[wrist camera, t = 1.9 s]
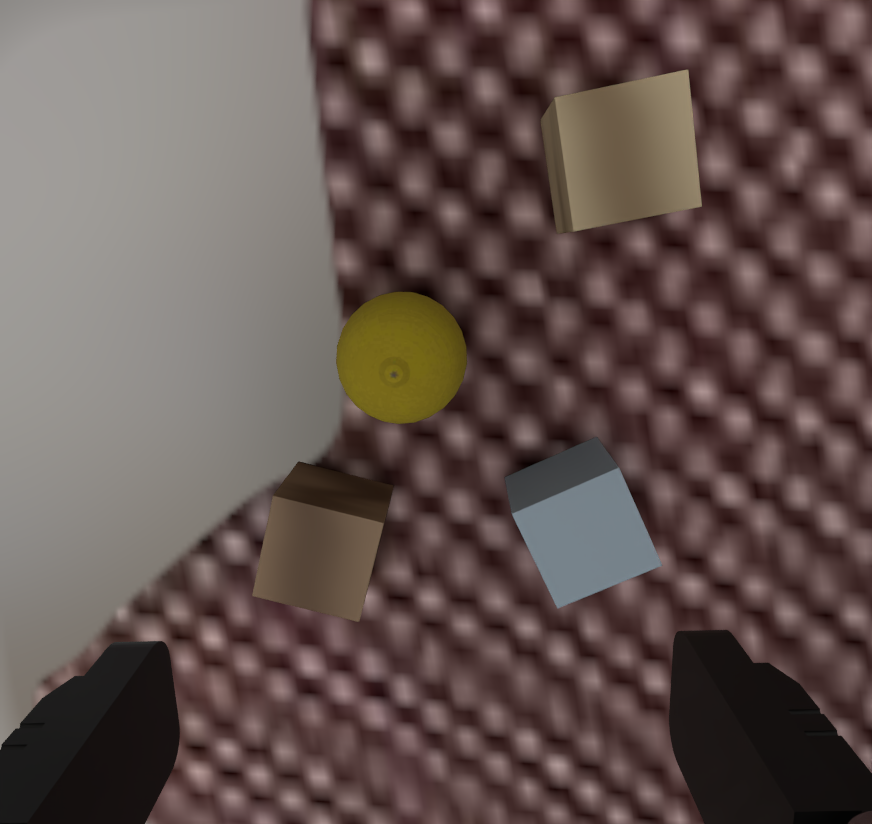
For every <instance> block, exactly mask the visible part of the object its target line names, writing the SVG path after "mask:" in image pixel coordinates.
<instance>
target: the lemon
mask: <svg viewBox="0 0 872 824" xmlns="http://www.w3.org/2000/svg"><path fill="white" fill-rule="evenodd" d="M336 364H337V369H338V374H339V379H340V381H341V383H342V385H343V388H344V390H345V392H346V394H347V395H348V396H349V398H350V399H351V400H352V401H353V403H354V404H355V405H356V406H357V407H358V408H360V409H361V410H362V411H364V412H365V413H366V414H368V415H369V416H372V417H374V418H376V419H379V420H381V421H384V422H390V423H396V424H402V423H413V422H417V421H420V420H423V419H426V418H428V417H430V416H432V415H434V414H435V413H437V412H438V411H440V410H441V409H443V408H444V407H445V406H446V405H447V404H448V403H449V401H450V400H451V399H452V398H453V397H454V396H455V394H456V392H457V391H458V389H459V387H460V385H461V383H462V381H463V377H464V373H465V369H466V365H467V353H466V344H465V341H464V337H463V334H462V331H461V329H460V327H459V325H458V324H457V322H456V320H455V318H454V317H453V316H452V315H451V314H450V313H449V312H448V311H447V310H446V309H445V308H444V307H443V306H442V305H441V304H439V303H437V302H436V301H434V300H432V299H431V298H429V297H427V296H423V295H420V294H417V293H413V292H392V293H388V294H384V295H380V296H378V297H376V298H374V299H372V300H370V301H368V302H366V303H364V304H363V305H362V306H361V307H360V308H359V309H358V310H357V311H356V312H354V313H353V314H352V315H351V317H350V319H349V320H348V322H347V323H346V325H345V326H344V328H343V330H342V333H341V336H340V339H339V342H338V345H337V359H336Z"/></svg>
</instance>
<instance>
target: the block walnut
mask: <svg viewBox="0 0 872 824" xmlns="http://www.w3.org/2000/svg"><path fill="white" fill-rule="evenodd" d="M393 487H394V486H393V485H389V484H385V483H381V482H377V481H373V480H369V479H365V478H361V477H357V476H353V475H349V474H345V473H341V472H337V471H333V470H329V469H325V468H321V467H317V466H313V465H309V464H308V463H304V462H300V461H299V462H298V463H297V464H296V466H295V467H294V468H293V470H292V471H291V472H290V474H289V475H288V476H287V478H286V479H285V480H284V482H283V483H282V484H281V486H280V487H279V488H278V490H277V491H276V492H275V494H274V495H273V498H272V503H271V508H270V513H269V518H268V522H267V527H266V532H265V537H264V542H263V546H262V551H261V556H260V561H259V566H258V570H257V575H256V580H255V585H254V590H253V595H252V596H255V597H259V598H263V599H267V600H271V601H275V602H279V603H283V604H287V605H292V606H296V607H300V608H304V609H308V610H312V611H316V612H320V613H324V614H328V615H333V616H337V617H341V618H345V619H349V620H353V621H357V622H359V620H360V616H361V612H362V609H363V605H364V601H365V597H366V593H367V590H368V586H369V582H370V578H371V575H372V571H373V567H374V563H375V559H376V555H377V551H378V547H379V543H380V539H381V535H382V531H383V527H384V523H385V519H386V515H387V511H388V507H389V503H390V499H391V495H392V491H393Z"/></svg>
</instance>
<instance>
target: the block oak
mask: <svg viewBox="0 0 872 824" xmlns="http://www.w3.org/2000/svg"><path fill="white" fill-rule="evenodd" d="M540 122H541V129H542V135H543V142H544V149H545V156H546V163H547V170H548V176H549V183H550V190H551V197H552V204H553V211H554V217H555V224H556V231H557V234H558V233H566V232H574V231H579V230H584V229H589V228H594V227H599V226H604V225H609V224H615V223H620V222H625V221H630V220H635V219H640V218H645V217H651V216H656V215H661V214H666V213H671V212H676V211H681V210H686V209H692V208H697V207H702V204H701V194H700V184H699V174H698V164H697V154H696V144H695V134H694V124H693V114H692V104H691V94H690V84H689V74H688V70H683V71H678V72H674V73H669V74H664V75H659V76H655V77H650V78H645V79H640V80H636V81H631V82H626V83H621V84H617V85H612V86H607V87H602V88H598V89H593V90H588V91H583V92H579V93H574V94H569V95H564V96H560V97H555V98H554V100H553V101H552V103H551V104H550V106H549V107H548V109H547V111H546V112H545V114H544V115H543V117H542V119H541V120H540Z"/></svg>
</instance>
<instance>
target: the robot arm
mask: <svg viewBox="0 0 872 824" xmlns="http://www.w3.org/2000/svg"><path fill="white" fill-rule="evenodd" d="M669 727H670V736H671V742H672V747H673V751H674V754H675V758H676V760H677V763H678V765H679V767H680V770H681V772H682V774H683V776H684V779H685V781H686V783H687V785H688V787H689V790H690V792H691V794H692V796H693V799H694V801H695V803H696V805H697V807H698V810H699V812H700V814H701V816H702V818H703V821H704V823H705V824H872V773H871V772H870V771H869V769H868V768H867V767H866V766H865V764H864V763H863V762H862V761H861V760H860V758H859V757H858V756H857V755H856V753H855V752H854V751H853V750H852V748H851V747H850V746H849V745H848V743H847V742H846V741H845V740H844V738H843V737H842V736H838V734H837V730H836V729H835V727H834V726H833V725H832V724H831V722H830V721H829V720H828V719H827V717H826V716H825V715H824V714H821V713H820V709H819V708H818V706H817V705H816V704H815V703H814V701H813V700H812V699H811V698H810V696H809V695H808V694H807V693H806V691H805V690H804V689H803V688H802V686H801V685H800V684H799V683H797V682H796V681H794V680H793V679H792V678H790V677H789V676H787V675H786V674H784V673H783V672H781V671H780V670H778V669H777V668H775V667H774V666H772V665H771V664H769V663H753V662H752V660H751V659H750V658H749V656H748V655H747V654H746V652H745V651H744V649H743V648H742V647H741V645H740V644H739V643H738V641H737V640H736V639H735V637H734V636H733V635H732V634H731V632H729V631H728V630H703V631H678V632H677V633H676V635H675V638H674V644H673V659H672V677H671V694H670V711H669ZM179 737H180V727H179V719H178V711H177V704H176V697H175V690H174V682H173V675H172V668H171V661H170V654H169V650H168V647H167V645H166V644H165V643H164V642H162V641H148V642H115V643H112V644H111V645H110V646H109V647H108V648H107V649H106V650H105V651H104V652H103V654H102V655H101V656H100V657H99V659H98V660H97V661H96V662H95V663H94V665H93V666H92V667H91V668H90V669H89V671H88V672H87V673H86V674H85V676H74V677H73V678H71V679H70V680H68V681H67V682H66V683H64V684H63V685H61V686H60V687H58V688H57V689H55V690H54V691H52V692H51V693H49V694H48V695H46V696H45V697H43V698H42V699H41V700H40V702H39V703H38V704H37V705H36V706H35V707H34V708H33V710H32V711H31V712H30V713H29V714H28V715H27V716H26V718H25V719H24V720H23V721H22V722H21V723H20V728H19V729H15V730H14V731H13V732H12V734H11V735H10V736H9V737H8V738H7V739H6V740H5V742H4V743H3V744H2V747H1V750H0V824H145V822H146V820H147V818H148V816H149V814H150V812H151V811H152V809H153V807H154V805H155V803H156V801H157V799H158V797H159V795H160V793H161V791H162V789H163V787H164V785H165V783H166V781H167V779H168V777H169V775H170V773H171V771H172V769H173V767H174V764H175V761H176V757H177V753H178V747H179Z"/></svg>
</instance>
